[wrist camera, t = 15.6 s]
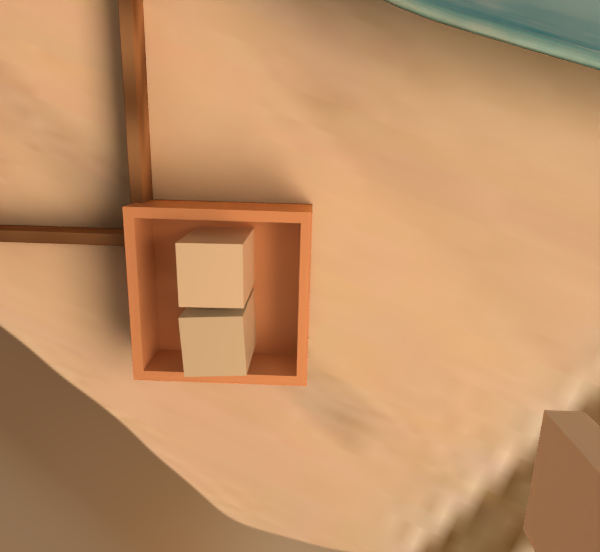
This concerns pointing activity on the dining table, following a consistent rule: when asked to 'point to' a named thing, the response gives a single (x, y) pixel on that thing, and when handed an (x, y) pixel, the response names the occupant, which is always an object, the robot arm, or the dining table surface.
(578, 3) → the casserole dish
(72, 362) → the dining table surface
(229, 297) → the cream tall block
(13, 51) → the dining table surface
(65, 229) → the tray
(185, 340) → the beige rectangular block
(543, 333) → the dining table surface
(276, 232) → the orange storage bin
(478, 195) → the dining table surface
